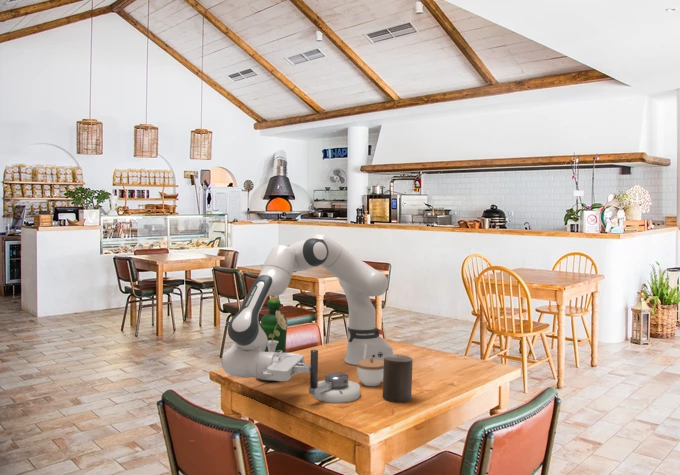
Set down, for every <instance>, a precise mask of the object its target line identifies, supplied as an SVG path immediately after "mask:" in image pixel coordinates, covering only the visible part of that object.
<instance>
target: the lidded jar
mask: <svg viewBox="0 0 680 475" xmlns="http://www.w3.org/2000/svg"><path fill="white" fill-rule="evenodd" d="M383 371H384V361H382V360H377V359H373V358H370V359H364V360H359V361H358V362H357V365H356V372H357V374H356V375H357V376H358V379H359V381H360V382H361V383H362V384H363V385H364V386H366V387H377V386H380V384H381V383H383Z"/></svg>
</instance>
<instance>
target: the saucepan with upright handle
mask: <svg viewBox="0 0 680 475" xmlns="http://www.w3.org/2000/svg"><path fill="white" fill-rule="evenodd" d="M309 365H310V371H309V373H310V374H309V376H310V382H309V384H310V385H309V387H308V394H310V395H312V396H313V395H316V394H319V393H321V392H324V391H326V390H329V389H332V388H336V389H338V388H345V387H347V386H348V381H349V375H348V374H346V373H344V372H330V373H327V374H325V375H324V380H325V382H322V383H320V384H318V382H319V381H318V378H319V377H318V376H319V372H318V371H319V350H318V349H311V350H310V364H309Z"/></svg>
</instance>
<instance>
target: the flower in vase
mask: <svg viewBox="0 0 680 475" xmlns="http://www.w3.org/2000/svg"><path fill="white" fill-rule="evenodd" d="M281 314H282V315H281ZM275 315H276V319H277V321H278V322H277V324H276V326H275V329H276V327H277V325H278V324H279V325H280V327H281V328H283V329H284V330H285V329H286V327H287V329H286V330H288V320H287V321H286V320H285V318H284V316H285V315H284V314H283V313H282V312H281V311H280V310H279V311H276V314H275ZM283 315H284V316H283ZM286 323H287V324H286ZM275 329H274V333H275V335H276V336H277V337H278V336H279V335H280V332H279V331H278V330H275ZM274 333H273V335H272V334H271V333H270V334H269V336H268V337H270V338H272V340H269V341H268V343H267V347H268V352H273V351H275V349H276V345H277V344H278V342H279V341H276V340H273V337H275V335H274ZM262 380H263V381H269V380H268V379H262Z"/></svg>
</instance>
